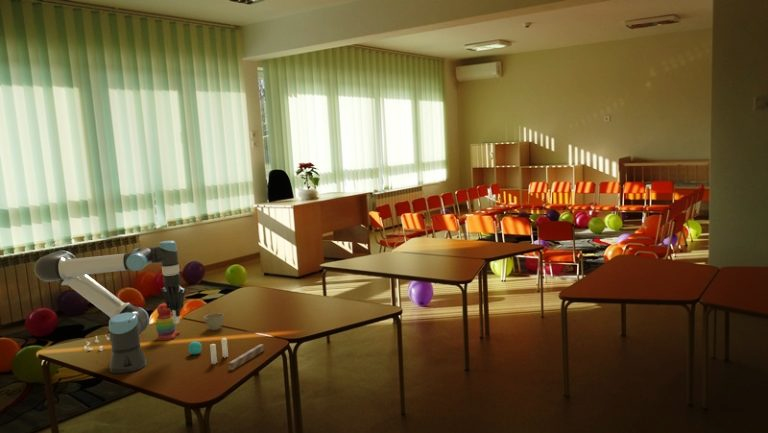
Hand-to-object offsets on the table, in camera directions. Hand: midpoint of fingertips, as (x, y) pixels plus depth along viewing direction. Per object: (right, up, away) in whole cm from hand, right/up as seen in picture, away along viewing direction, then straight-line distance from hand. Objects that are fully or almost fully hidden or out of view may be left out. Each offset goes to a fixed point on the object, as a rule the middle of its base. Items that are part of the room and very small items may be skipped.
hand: (176, 322), depth 274 cm
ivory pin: (+25, -14, -8) cm, 30 cm away
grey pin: (+22, -15, -16) cm, 31 cm away
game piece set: (-44, -16, +21) cm, 51 cm away
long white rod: (+37, -14, -14) cm, 41 cm away
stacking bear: (-14, -13, +27) cm, 33 cm away
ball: (+9, -11, -2) cm, 15 cm away
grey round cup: (+8, -10, +36) cm, 39 cm away
